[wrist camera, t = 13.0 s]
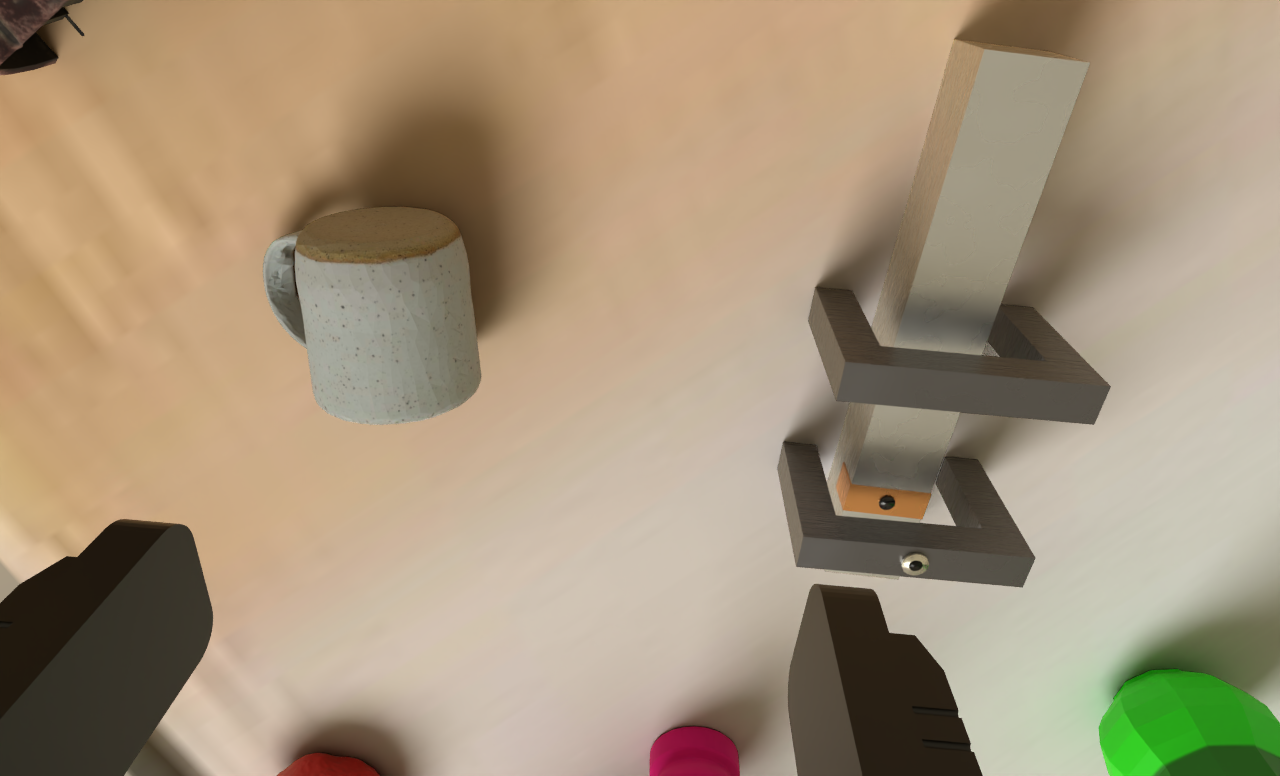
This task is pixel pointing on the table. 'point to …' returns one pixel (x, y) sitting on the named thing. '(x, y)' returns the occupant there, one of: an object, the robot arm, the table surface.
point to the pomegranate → (328, 766)
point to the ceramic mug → (379, 312)
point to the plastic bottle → (1188, 728)
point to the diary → (28, 33)
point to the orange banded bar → (954, 257)
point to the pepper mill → (694, 753)
